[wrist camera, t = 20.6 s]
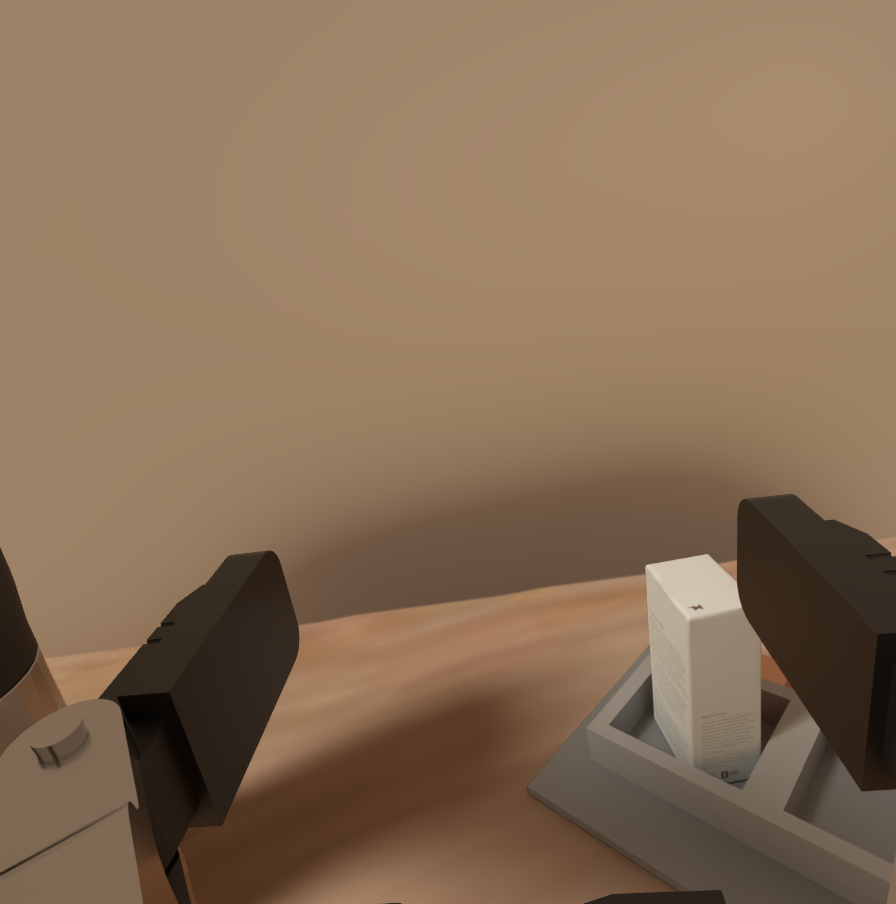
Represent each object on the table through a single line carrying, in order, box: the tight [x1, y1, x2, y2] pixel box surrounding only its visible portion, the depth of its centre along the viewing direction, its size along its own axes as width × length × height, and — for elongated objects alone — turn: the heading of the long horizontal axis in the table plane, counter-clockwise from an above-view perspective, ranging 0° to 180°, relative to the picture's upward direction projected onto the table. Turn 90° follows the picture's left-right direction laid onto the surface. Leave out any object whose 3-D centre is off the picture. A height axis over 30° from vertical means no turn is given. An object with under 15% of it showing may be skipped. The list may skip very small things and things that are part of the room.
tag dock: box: [527, 645, 896, 904], centre depth 34 cm, size 24×18×3 cm
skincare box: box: [646, 554, 761, 783], centre depth 36 cm, size 6×4×12 cm
